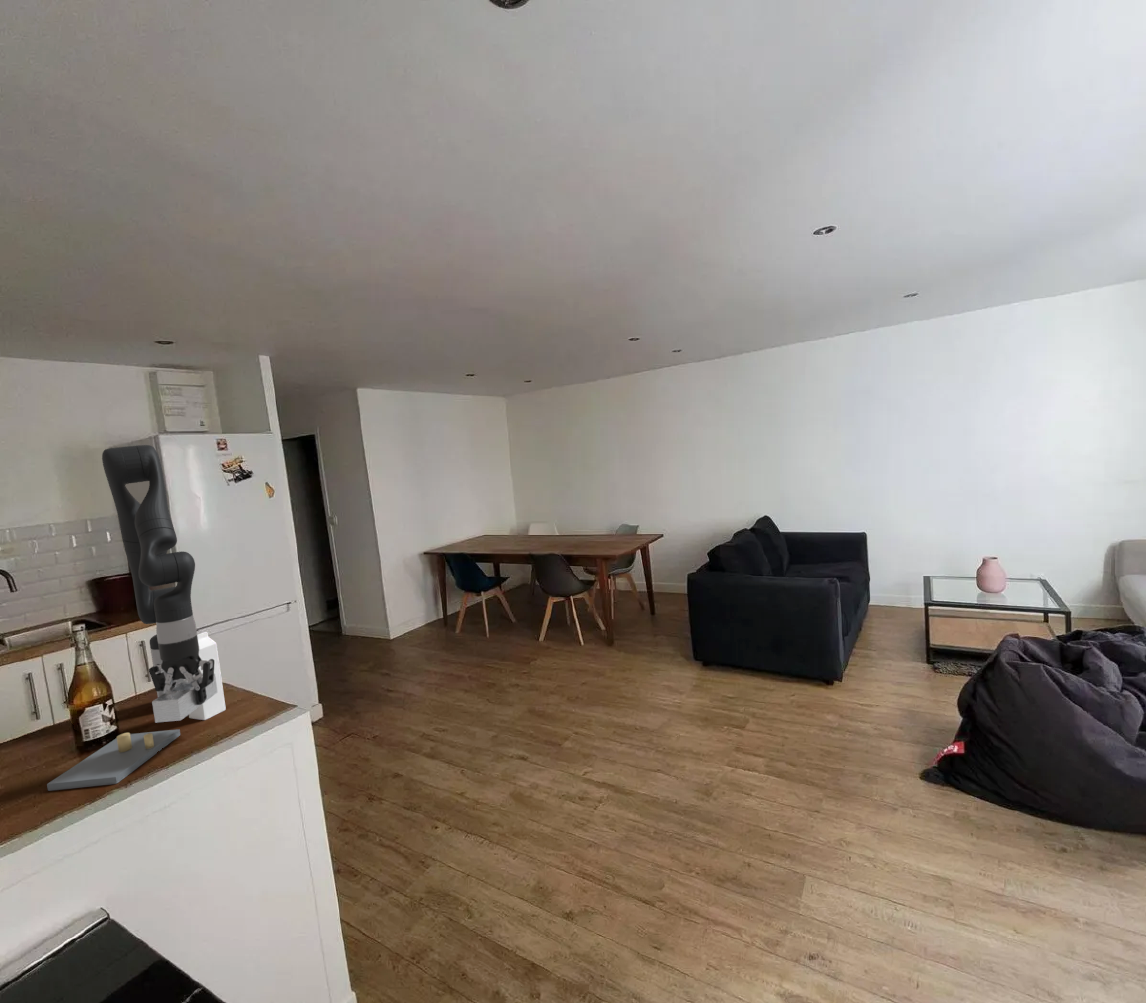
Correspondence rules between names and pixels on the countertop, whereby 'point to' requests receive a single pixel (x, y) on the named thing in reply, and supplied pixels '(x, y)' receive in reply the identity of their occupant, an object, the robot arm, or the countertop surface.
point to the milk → (217, 701)
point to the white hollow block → (179, 701)
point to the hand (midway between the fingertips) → (187, 704)
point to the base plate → (114, 760)
